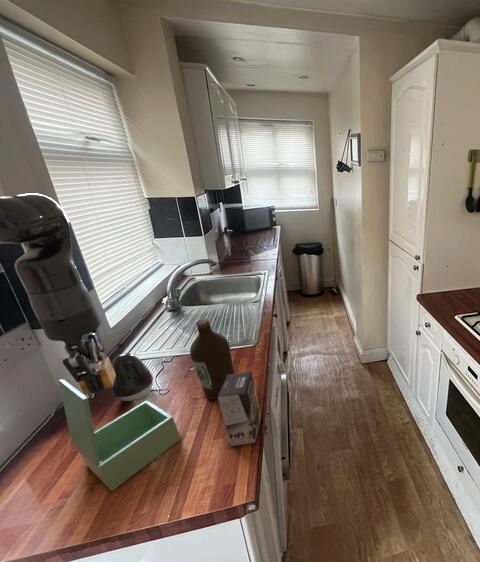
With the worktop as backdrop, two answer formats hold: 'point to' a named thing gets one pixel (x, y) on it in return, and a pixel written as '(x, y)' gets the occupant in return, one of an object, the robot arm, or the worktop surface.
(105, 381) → the block
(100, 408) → the worktop surface
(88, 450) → the chest lid
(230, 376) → the coffee box
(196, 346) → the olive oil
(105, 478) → the chest
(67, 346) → the robot arm
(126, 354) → the dark rounded dome
